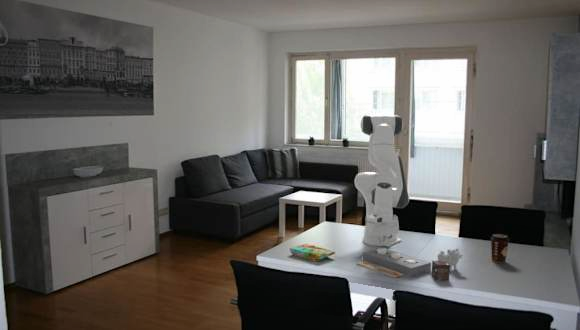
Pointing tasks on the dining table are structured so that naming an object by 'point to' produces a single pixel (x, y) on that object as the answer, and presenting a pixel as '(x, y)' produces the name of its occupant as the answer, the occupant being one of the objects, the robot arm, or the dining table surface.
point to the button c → (410, 261)
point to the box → (440, 270)
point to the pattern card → (380, 269)
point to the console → (397, 262)
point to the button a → (381, 251)
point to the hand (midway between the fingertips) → (382, 244)
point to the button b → (395, 255)
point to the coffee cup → (499, 247)
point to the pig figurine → (450, 257)
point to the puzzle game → (311, 252)
